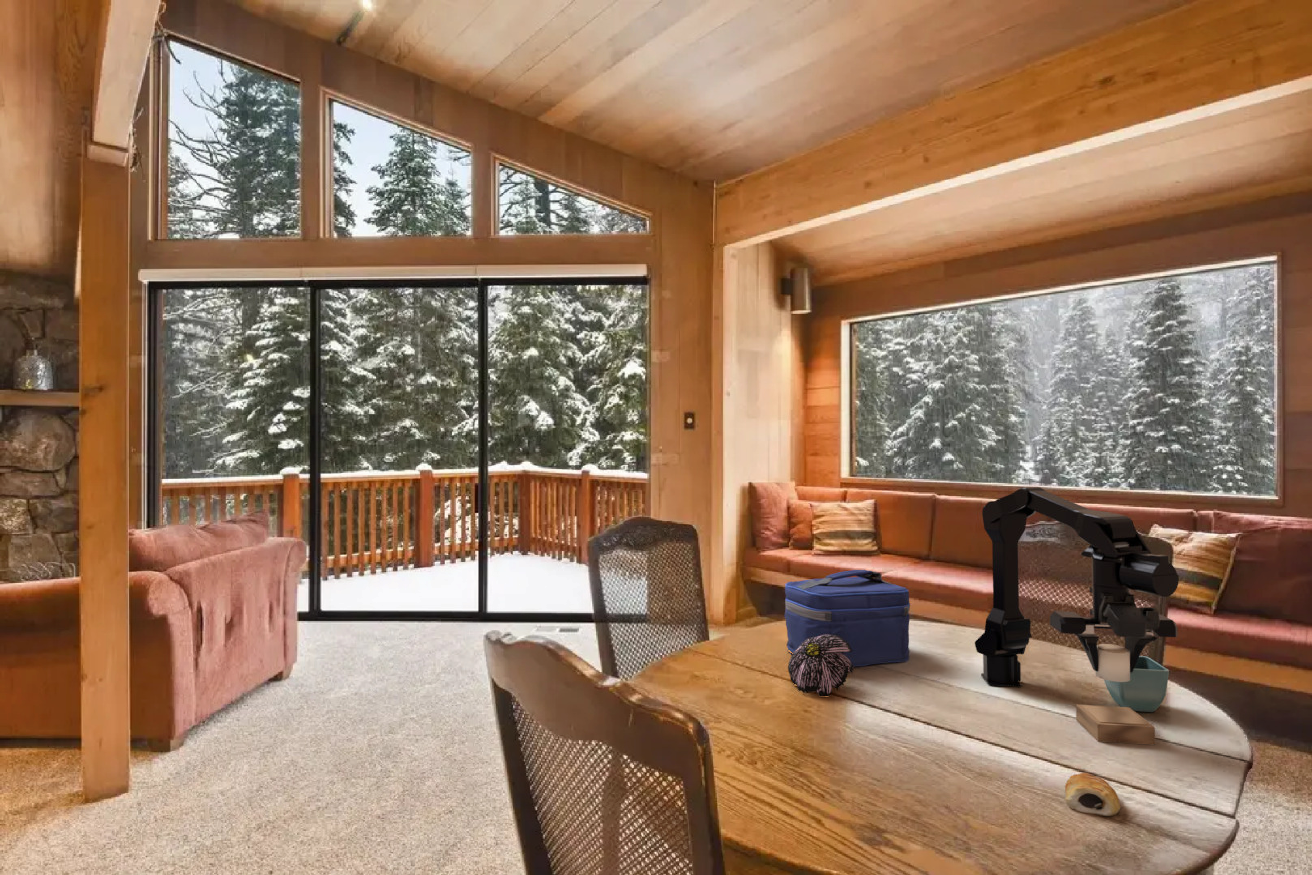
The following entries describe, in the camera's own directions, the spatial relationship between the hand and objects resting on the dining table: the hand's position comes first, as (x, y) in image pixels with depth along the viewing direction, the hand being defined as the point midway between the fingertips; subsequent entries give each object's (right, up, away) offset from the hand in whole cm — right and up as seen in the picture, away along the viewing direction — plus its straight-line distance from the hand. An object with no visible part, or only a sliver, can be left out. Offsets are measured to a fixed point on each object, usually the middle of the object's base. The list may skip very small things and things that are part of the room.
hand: (1112, 671), depth 124 cm
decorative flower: (-47, -12, +26) cm, 55 cm away
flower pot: (+12, -11, +11) cm, 19 cm away
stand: (0, -11, 0) cm, 11 cm away
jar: (0, -1, 0) cm, 1 cm away
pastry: (-19, -12, -23) cm, 32 cm away
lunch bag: (-35, -12, +47) cm, 60 cm away
